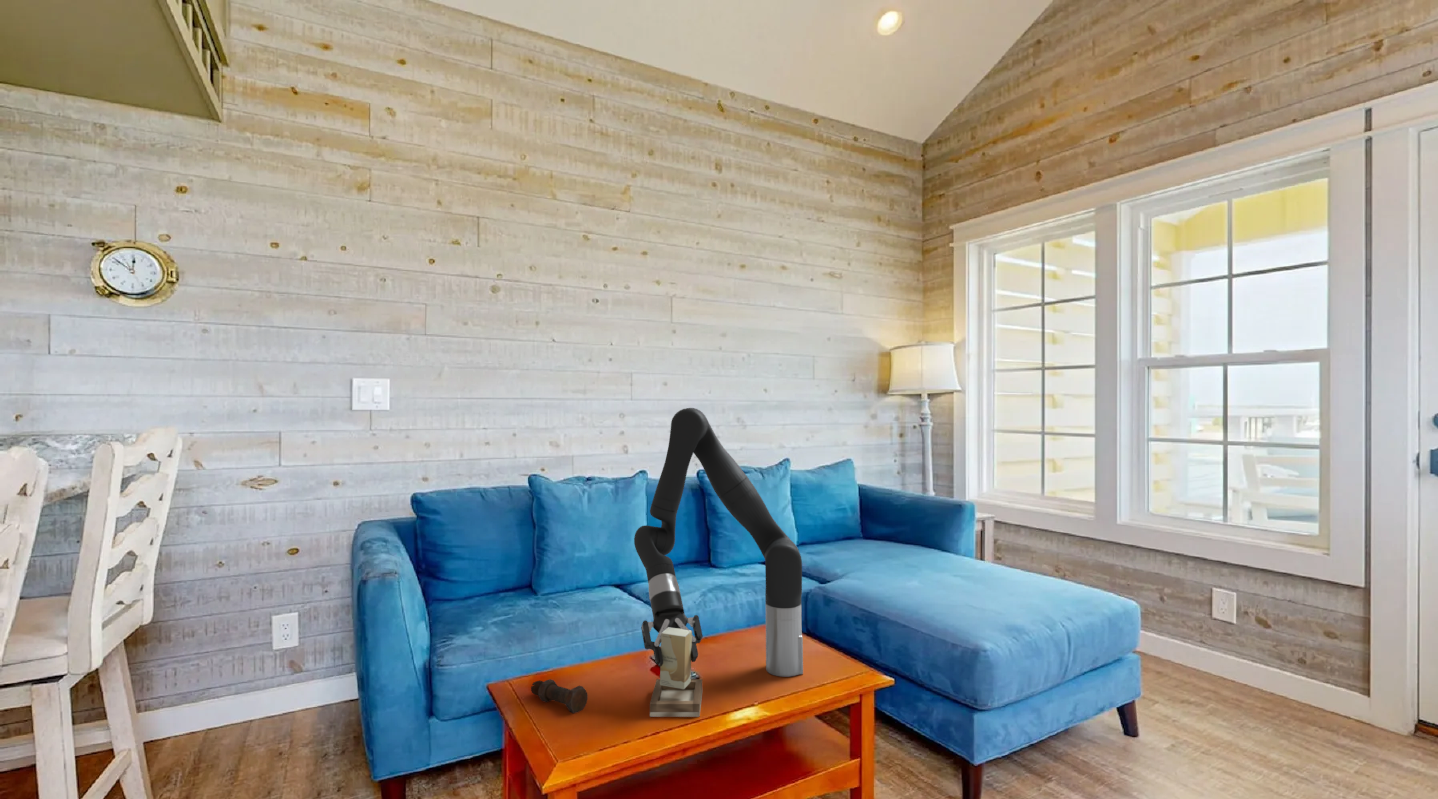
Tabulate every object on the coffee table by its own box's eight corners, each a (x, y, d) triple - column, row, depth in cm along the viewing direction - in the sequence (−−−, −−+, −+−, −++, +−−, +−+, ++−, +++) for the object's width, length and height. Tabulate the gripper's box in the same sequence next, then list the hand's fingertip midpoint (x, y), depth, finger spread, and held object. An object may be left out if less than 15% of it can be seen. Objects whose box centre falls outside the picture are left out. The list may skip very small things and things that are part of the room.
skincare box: (659, 686, 151) (659, 632, 151) (666, 678, 155) (666, 626, 155) (685, 690, 149) (685, 635, 149) (692, 682, 153) (692, 629, 153)
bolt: (538, 701, 158) (582, 716, 149) (523, 698, 154) (567, 712, 146) (547, 676, 160) (591, 688, 152) (532, 672, 157) (576, 684, 148)
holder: (702, 691, 158) (702, 679, 158) (699, 716, 145) (699, 703, 145) (656, 691, 159) (656, 679, 159) (649, 716, 146) (649, 703, 146)
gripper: (638, 592, 157) (649, 659, 146) (696, 586, 162) (711, 651, 151) (634, 607, 162) (644, 673, 151) (690, 602, 167) (704, 665, 156)
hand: (677, 662), depth 151 cm, fingers closed on skincare box, 7 cm apart
